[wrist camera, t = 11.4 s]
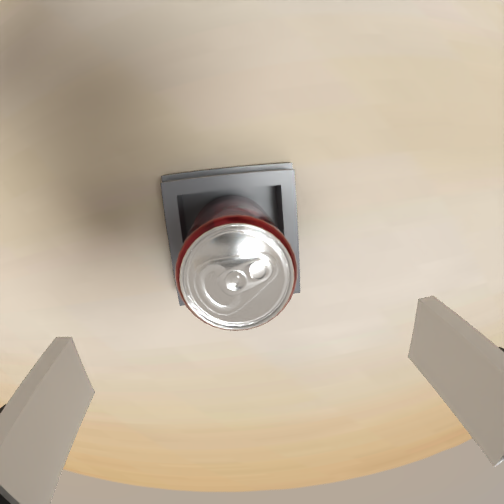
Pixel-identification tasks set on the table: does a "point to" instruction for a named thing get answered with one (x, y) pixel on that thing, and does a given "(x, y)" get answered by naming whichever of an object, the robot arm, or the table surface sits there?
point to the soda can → (235, 265)
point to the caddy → (231, 183)
